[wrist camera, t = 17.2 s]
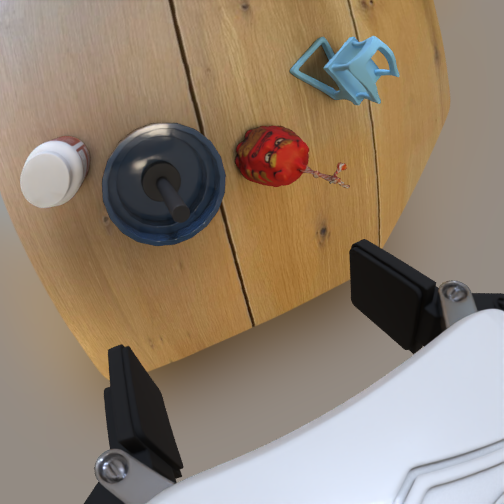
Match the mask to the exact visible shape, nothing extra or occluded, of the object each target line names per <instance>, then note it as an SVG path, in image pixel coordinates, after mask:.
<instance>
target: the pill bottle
mask: <svg viewBox="0 0 504 504" xmlns="http://www.w3.org/2000/svg"><path fill="white" fill-rule="evenodd" d="M89 167H90V155H89V151H88V149H87V147H86V146H85V144H84V143H83V142H82V141H80V140H79V139H77V138H75V137H71V136H63V137H59V138H56V139H53V140H51V141H48V142H45V143H43V144H41V145H39V146H38V147H36V148H35V149H34V150H33V151H32V152H31V153H30V155H29V156H28V158H27V160H26V162H25V165H24V168H23V170H22V173H21V178H20V185H21V190H22V193H23V195H24V197H25V198H26V199H27V201H28V202H29V203H31V204H32V205H34V206H36V207H39V208H49V207H55V206H59V205H62V204H64V203H66V202H68V201H69V200H70V199H71V198H72V197H73V196H74V195H75V194H76V192H77V191H78V189H79V187H80V186H81V184H82V182H83V180H84V179H85V177H86V175H87V173H88V170H89Z"/></svg>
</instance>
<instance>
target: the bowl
mask: <svg viewBox="0 0 504 504" xmlns="http://www.w3.org/2000/svg"><path fill="white" fill-rule="evenodd" d="M156 161H165V162H168V163H170V164H172V165H173V166H174V167H175V168H176V169H177V170H178V172H179V174H180V177H181V185H180V189H179V191H178V192H177V193H178V195H179V196H180V198H181V199H182V200H183V202H184V203H185V204H186V206H187V207H188V208H189V210H190V216H189V218H188V220H187V221H185V222H183V223H178V222H176V221H174V219H173V218H172V216H171V214H170V212H169V210H168V208H167V206H166V204H165V202H164V201H162V202H159V201H154V200H152V199H150V198H149V197H148V196H147V195H146V194H145V192H144V190H143V187H142V182H141V178H142V174H143V172H144V170H145V169H146V167H147V166H148V165H150V164H151V163H153V162H156ZM225 177H226V175H225V171H224V167H223V163H222V159H221V156H220V155H219V153H218V152H217V150H216V148H215V147H214V145H213V144H212V142H211V141H210V140H209V139H207V138H206V137H205V136H203V135H202V134H201V133H199V132H198V131H197V130H195V129H193V128H190V127H187V126H184V125H181V124H178V123H151V124H148V125H145V126H143V127H140V128H137V129H135V130H133V131H132V132H131V133H129V134H128V135H127V136H125V137H124V138H123V139H122V140H120V142H119V143H118V144H117V146H116V147H115V149H114V150H113V152H112V153H111V155H110V156H109V159H108V161H107V165H106V168H105V172H104V175H103V179H102V193H103V202H104V205H105V207H106V210H107V212H108V215H109V217H110V219H111V220H112V222H113V223H114V224H115V225H116V226H117V227H118V228H119V230H120V231H121V232H122V233H123V234H125V235H127V236H128V237H130V238H132V239H134V240H135V241H137V242H140V243H144V244H149V245H153V246H163V245H174V244H177V243H180V242H182V241H185V240H188V239H190V238H192V237H194V236H195V235H196V234H197V233H199V232H200V231H201V230H203V229H204V228H205V227H206V226H207V225H208V224H209V223H210V221H211V220H212V219H213V217H214V216H215V215H216V213H217V212H218V210H219V207H220V204H221V202H222V199H223V196H224V193H225Z"/></svg>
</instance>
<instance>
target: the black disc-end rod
mask: <svg viewBox="0 0 504 504" xmlns="http://www.w3.org/2000/svg"><path fill="white" fill-rule="evenodd" d="M141 182H142V187H143V190H144V192H145V194H146V195H147V196H148V197H149V198H150V199H152V200H154V201H159V202H162V201H164V202H165V204H166V206H167V208H168V210H169V212H170V214H171V216H172V218H173V219H174V221H176V222H178V223H183V222H185V221H187V220H188V218H189V216H190V210H189V208H188V207H187V206H186V204H185V203H184V202H183V200H182V199H181V198H180V196H179V195H178V193H177V192H178V191H179V189H180V185H181V177H180V174H179V172H178V170H177V169H176V168H175V167H174V166H173V165H172V164H170V163H168V162H165V161H156V162H153V163H151V164H150V165H148V166H147V167H146V169H145V170H144V172H143V174H142V178H141Z"/></svg>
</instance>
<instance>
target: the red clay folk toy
mask: <svg viewBox="0 0 504 504" xmlns="http://www.w3.org/2000/svg"><path fill="white" fill-rule="evenodd" d="M236 151H237V156H236V158H235V164H236V166H237V167H238V168H239V169H240V172H241V173H242V175H243V176H244V177H245V178H246V179H248V180H250V181H252V182H255V183H259V184H262V185H267V186H273V187H279V186H281V185H289V184H291V183H293V182H294V181H296V180H297V179H298V178H299V177H300V176H301V175H302V174H303V173H312V174H313V176H314V177H315V178H318V177H322V178H323V179H325V180H328V181H330V182H329V183H330V184H331V183H334V184H336V183H338V184H339V185H341V186H342V187H344V188H348V187H350V186H349V185H344V183H343V182H341V179H340V178H338V177H337V174H338V173H339V172H340V171H341V170H346V169H347V167H346V164H345V163H338V165H337V170H336V172H335V173H334V175H333V176H330V175H325V174H321V173H319V171H313V170H312V169H310V168H309V167H308V166H307V164H308V158H309V155H308V152H309V148H308V146H307V145H306V143H305V142H303V141H302V139H301V138H300V137H299V136H297V135H296V134H295V133H294V132H293V131H292V130H290V129H288V128H285V127H283V126H269V127H266V126H260V127H258V128H255V129H254V130H249V131H247V133H246V134H245V141H243V142H241V143H239V144H238V146H237V148H236Z"/></svg>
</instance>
